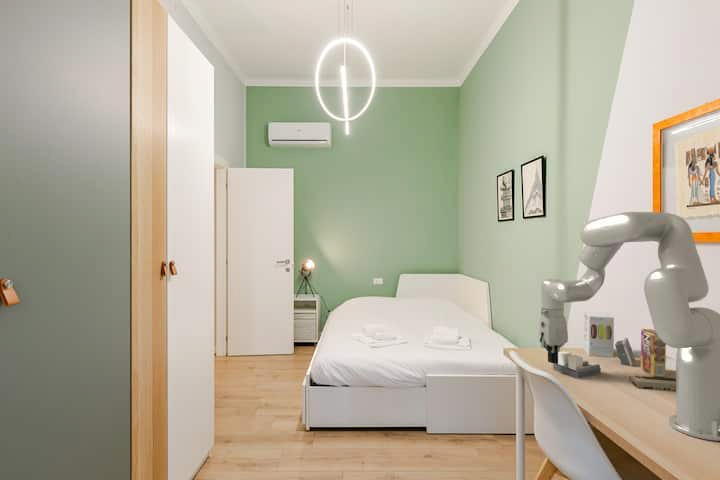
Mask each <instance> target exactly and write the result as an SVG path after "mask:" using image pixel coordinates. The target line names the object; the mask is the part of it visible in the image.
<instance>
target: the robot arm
mask: <svg viewBox="0 0 720 480" xmlns="http://www.w3.org/2000/svg"><path fill="white" fill-rule="evenodd" d="M580 240H581V242H582V243H583V244H584V245H585V246H584V247H583V249H581V252H579V256H578V259H579V260H580V262H581V264H583V266H585V267H587V269H586V271H585V273H584V274H583V275H582V277H581V278H580V279H576V280H561V279H556V278H546V279H543V280H542V281H541V283H540V284H541V286H540V287H541V288H540V289H541V290H540V291H541V296H540V297H541V307H540V308H541V309H540V314H541V317H540V318H539V319H540V320H539V328H538V330H539V331H538V338H539V339H538V340H539V342H540V347H541V348H542V349H545V350H546V352H547V362H548V363H551V364H556V363H558V352H560V349H561V347H563V346H564V345H565V344H567V343H568V342H569V335H568V333H569V332H568V324H567V320H566V318H567V317H566V316H565V304H569V303H576V302H586V301H587V302H588V301H589V300H591V299H592V298H593V297H595V295H596V294H597V293H598V291H599V290H600V289H601V288H602V286H603V285H604V283H605V282H604V281H605V278H606V277H605V276H606V270H605V269H606V267H607V266H608V264H609V263H610V261H612V259H613V258H614V256H615V255H616V254H618V252H619V250H620V249H621V247H622V246H623V245H624V244H625V243H635V242H637V243H639V242H640V243H643V242H644V243H645V242H657V243H658V247H657V255H658V256H657V257H658V260H659V263H660V266H661V267H659V268H657V269H654V270H652V271H651V272H649V274H648V275H647V276H646V277H645V280H644V284H643V291H644V296H645V300H646V301H645V302H646V304H647V308H648V311H649V315H650V319H651V322H652V326H653V328H654V329H653V330H655V331H656V333H657V335H658V337H659V338H660V340H661V341H662V342H664V343H665V344H666V346H668V347H671V348H673V349H677V351H676V360H675V379H676V391H675V396H676V397H675V403H676V404H675V405H676V406H675V409H676V410H675V414H674V415H671V416H670V417H669V418H668V424H669V425H670V426H671V427H672V428H673V429H675V430H676V431H679V432H681V433H683V434H685V435H688V436H690V437H695V438H698V439H702V440H707V441H714V442H715V441H716V442H719V441H720V313H718V312H717V311H716V310H714V309H711V308H708V307H702V306H701V307H699V306H697V307H695V306H694V307H690V304H689V303H694V302H699V301H702V300H703V299H704V298H706V297H707V295H708V293H709V283H708V280H707V277H706V274H705V270H704V268H703V265H702V261H701V257H700V255H699V253H698V249H697V247H696V243H695V239H694V233H693V231H692V228H691V226H690V224H689V223H688V222H687V221H686V220H685V219H684V218H682V217H681V216H679V215H677V214H674V213H669V212H661V211H660V212H658V211H626V212H621V213H617V214H616V213H615V214H612V215H607V216H604V217H598V218H595V219H591V220H589V221H587V222H586V223H585V224H584V225H583V226H582V228H581V230H580Z"/></svg>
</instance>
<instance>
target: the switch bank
mask: <svg viewBox="0 0 720 480" xmlns="http://www.w3.org/2000/svg"><path fill="white" fill-rule="evenodd" d="M552 367H553V371H557V372H559V373H562V374H565V375H567V376H571V377H573V378H575V379H580V378H585V377H591V376H594V375H595V376H596V375H599V374H601V371H602V369H601V364H599V363H598V364H597V363H596V364H589V361H588V360H583V367H578V368H576V370H573V369H570V368H568V364H564V366H562V365H559V364H558V363H556V364H554V363H552Z"/></svg>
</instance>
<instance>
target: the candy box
mask: <svg viewBox="0 0 720 480" xmlns="http://www.w3.org/2000/svg"><path fill="white" fill-rule="evenodd" d="M640 330H641V331H640V333H641V334H640V335H641V336H640V338H641V339H640V341H641V342H640V369H641V370H642V371H644V372H645V373H647V374H649V375H651V377H663V378H666V363H667V362H666V358H667V357H666V354H667V351H666V350H667V345H666V344H665V343H664V342H662V341H661V340H660V338H659V337H658V335H657V333H656V331H655V329H652V328H651V329H650V328H641V329H640Z"/></svg>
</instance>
